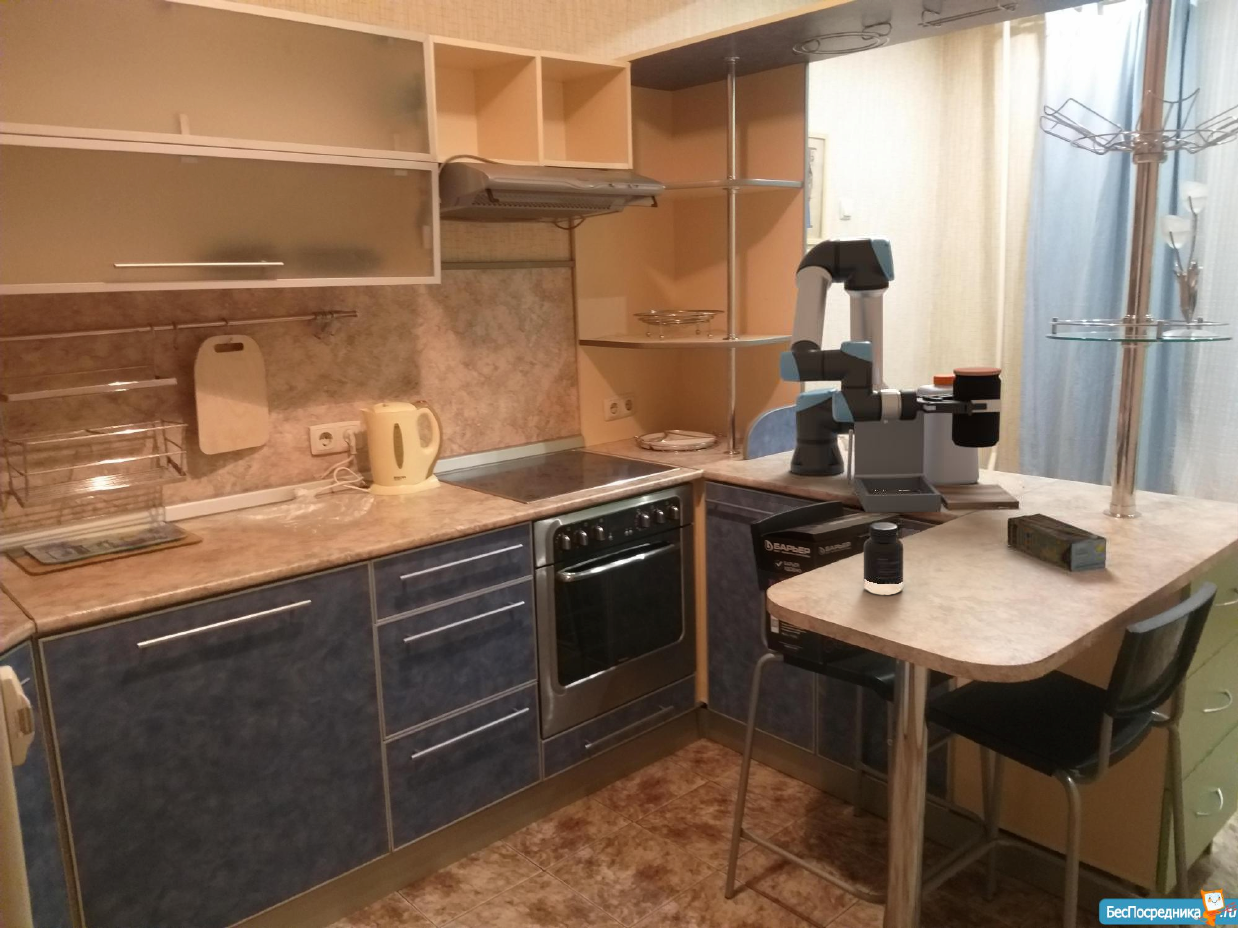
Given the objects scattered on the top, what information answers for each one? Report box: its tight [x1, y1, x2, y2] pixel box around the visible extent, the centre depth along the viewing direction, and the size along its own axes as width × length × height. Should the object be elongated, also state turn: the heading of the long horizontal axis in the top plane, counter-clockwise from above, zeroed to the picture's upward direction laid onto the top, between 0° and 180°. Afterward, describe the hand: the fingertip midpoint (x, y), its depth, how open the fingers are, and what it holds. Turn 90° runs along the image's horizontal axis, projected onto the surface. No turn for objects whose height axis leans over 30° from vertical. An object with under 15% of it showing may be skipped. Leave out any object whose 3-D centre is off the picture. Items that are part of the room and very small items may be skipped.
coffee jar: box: [952, 366, 1002, 449], centre depth 222 cm, size 11×11×18 cm
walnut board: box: [934, 483, 1020, 510], centre depth 227 cm, size 18×16×2 cm
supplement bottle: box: [863, 521, 904, 584], centre depth 166 cm, size 7×7×12 cm
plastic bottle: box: [916, 373, 980, 486], centre depth 246 cm, size 15×15×28 cm
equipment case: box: [846, 411, 942, 513], centre depth 230 cm, size 28×18×22 cm
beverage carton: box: [1006, 513, 1108, 573], centre depth 181 cm, size 8×19×7 cm, turn 14°
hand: (994, 402), depth 222 cm, fingers closed on coffee jar, 11 cm apart
